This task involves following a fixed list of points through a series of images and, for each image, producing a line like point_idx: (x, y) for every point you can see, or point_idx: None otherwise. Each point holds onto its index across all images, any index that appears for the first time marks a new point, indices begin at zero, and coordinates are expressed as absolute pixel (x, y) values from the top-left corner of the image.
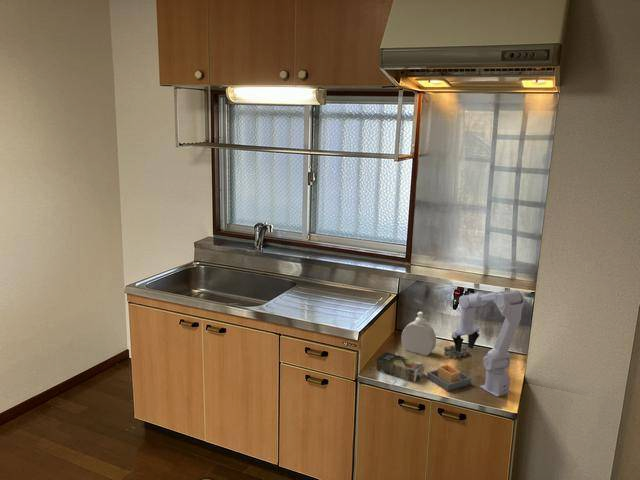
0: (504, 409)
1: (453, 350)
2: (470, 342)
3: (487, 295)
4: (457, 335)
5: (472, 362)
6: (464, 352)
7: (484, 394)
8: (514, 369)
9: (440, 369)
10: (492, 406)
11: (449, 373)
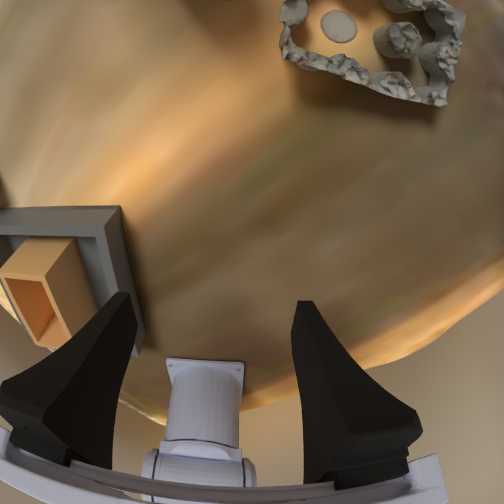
0: (155, 420)
1: (388, 3)
2: (305, 362)
3: None
4: (44, 466)
5: (358, 184)
6: (410, 91)
7: (151, 379)
8: (423, 325)
9: (8, 281)
10: (133, 406)
11: (30, 334)
